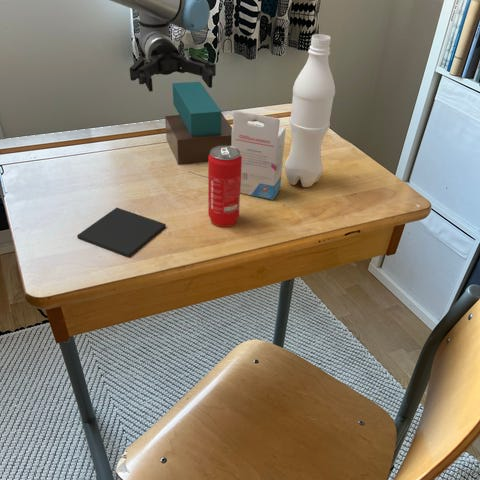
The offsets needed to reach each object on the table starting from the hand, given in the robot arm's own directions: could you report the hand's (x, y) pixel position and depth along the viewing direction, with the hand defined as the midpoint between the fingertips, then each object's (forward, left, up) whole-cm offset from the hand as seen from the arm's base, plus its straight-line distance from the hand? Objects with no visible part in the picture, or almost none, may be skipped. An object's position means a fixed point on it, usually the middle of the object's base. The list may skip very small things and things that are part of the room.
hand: (181, 83), depth 114 cm
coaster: (+18, -46, -7) cm, 50 cm away
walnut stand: (+12, -12, -7) cm, 19 cm away
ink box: (+30, -22, -8) cm, 38 cm away
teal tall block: (+10, -10, 0) cm, 14 cm away
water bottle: (+36, -14, -8) cm, 39 cm away
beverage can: (+30, -34, -8) cm, 46 cm away
